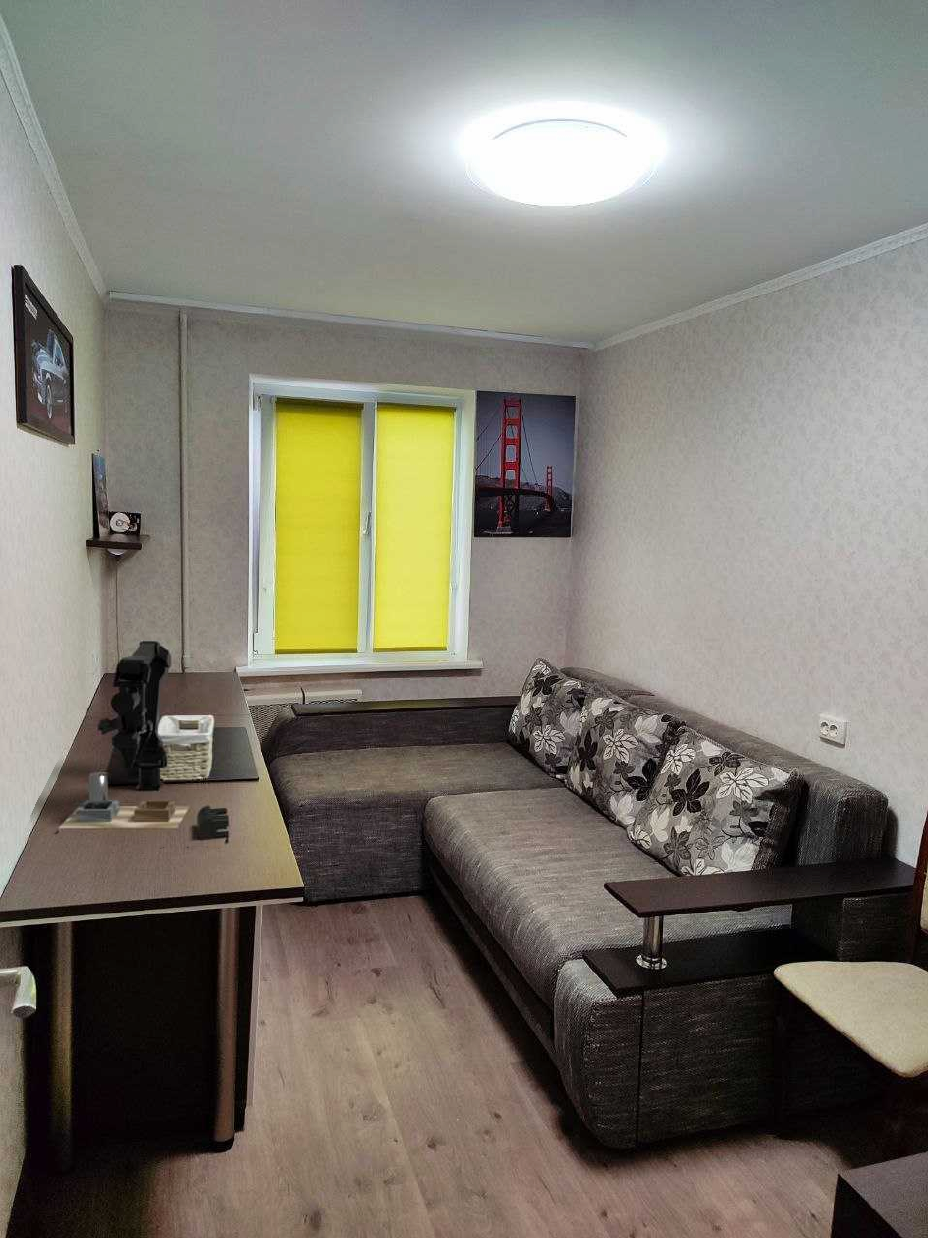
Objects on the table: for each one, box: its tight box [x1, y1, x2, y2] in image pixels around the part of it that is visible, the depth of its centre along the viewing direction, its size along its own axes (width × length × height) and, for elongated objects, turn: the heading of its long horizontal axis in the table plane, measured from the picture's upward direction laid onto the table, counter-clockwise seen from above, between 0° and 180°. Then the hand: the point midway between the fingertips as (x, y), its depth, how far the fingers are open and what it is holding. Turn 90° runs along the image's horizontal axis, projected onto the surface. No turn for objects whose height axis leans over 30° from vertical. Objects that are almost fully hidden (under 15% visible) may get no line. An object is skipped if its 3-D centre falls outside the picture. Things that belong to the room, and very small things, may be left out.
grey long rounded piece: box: [88, 771, 109, 809], centre depth 225 cm, size 4×4×11 cm
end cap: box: [196, 805, 230, 844], centre depth 218 cm, size 10×7×7 cm
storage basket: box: [158, 714, 215, 781], centre depth 272 cm, size 24×16×15 cm
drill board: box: [58, 799, 190, 833], centre depth 226 cm, size 16×28×4 cm, turn 97°
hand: (133, 764), depth 236 cm, fingers open, 9 cm apart
